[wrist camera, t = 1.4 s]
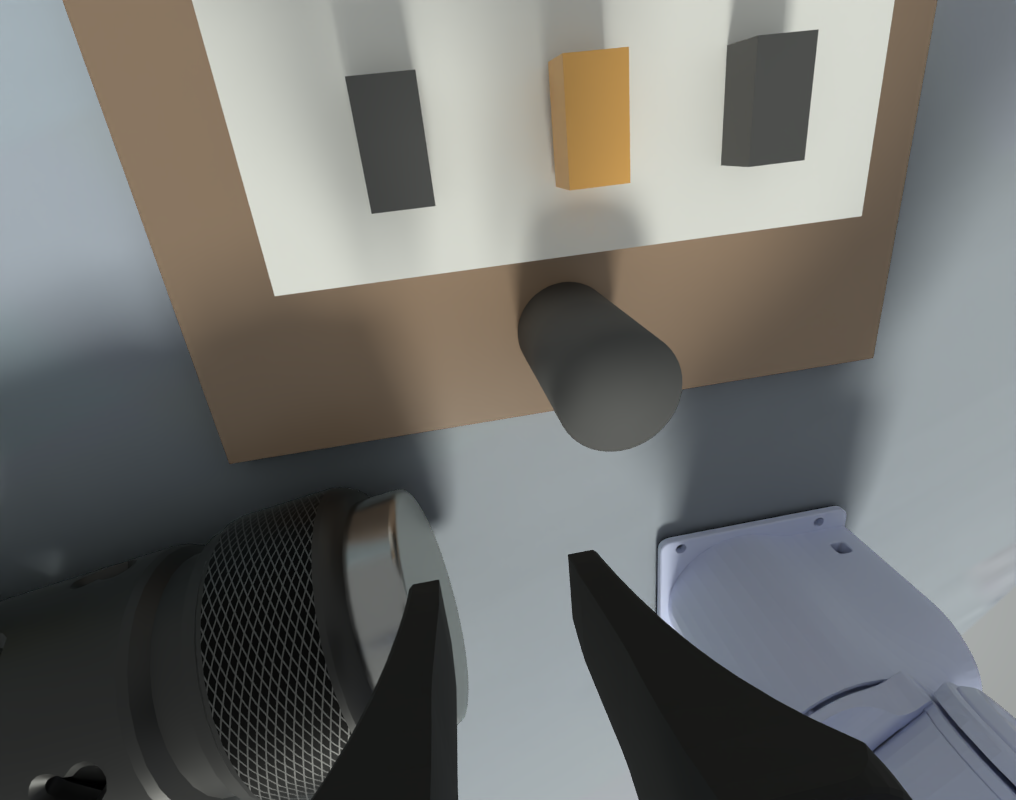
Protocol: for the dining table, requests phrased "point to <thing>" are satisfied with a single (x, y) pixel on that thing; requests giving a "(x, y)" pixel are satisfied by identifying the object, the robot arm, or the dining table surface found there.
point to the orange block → (590, 118)
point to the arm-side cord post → (599, 367)
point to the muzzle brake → (215, 656)
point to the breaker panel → (462, 310)
